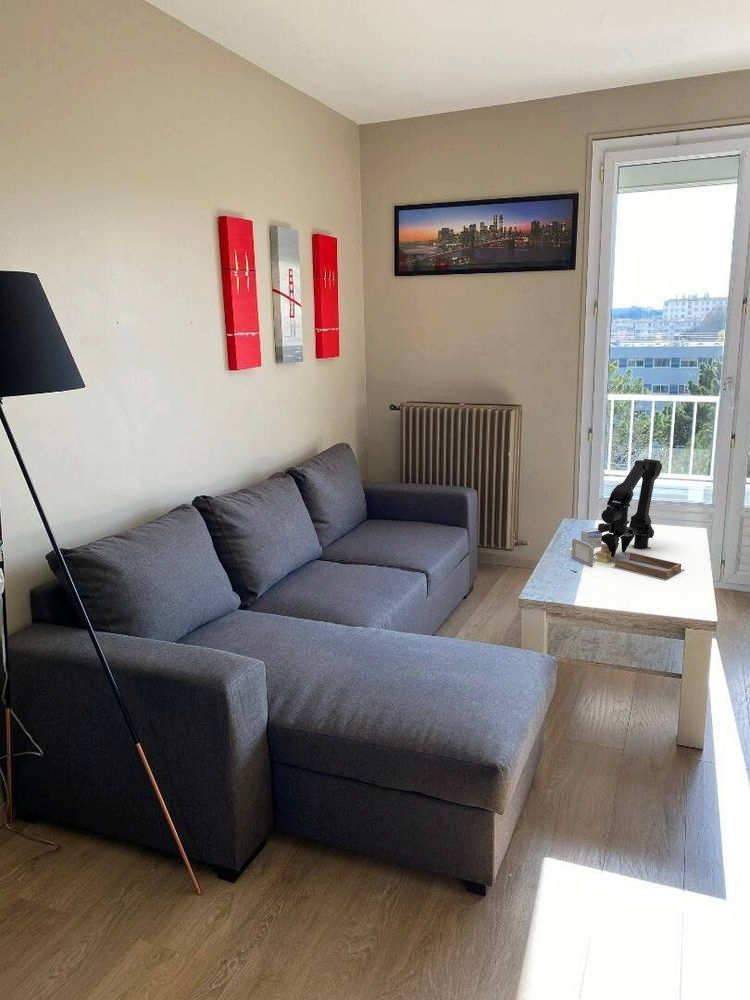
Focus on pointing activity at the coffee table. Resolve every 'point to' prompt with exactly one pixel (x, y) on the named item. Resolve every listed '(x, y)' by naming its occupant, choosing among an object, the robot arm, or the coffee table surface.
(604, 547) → the peach dome
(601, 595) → the coffee table surface
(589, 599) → the coffee table surface
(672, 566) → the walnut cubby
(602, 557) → the oak block
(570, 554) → the cream cube
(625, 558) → the slate board
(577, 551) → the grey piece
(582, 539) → the medicine box
